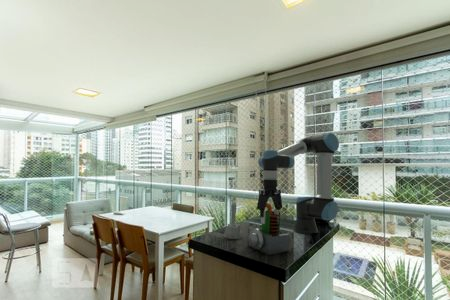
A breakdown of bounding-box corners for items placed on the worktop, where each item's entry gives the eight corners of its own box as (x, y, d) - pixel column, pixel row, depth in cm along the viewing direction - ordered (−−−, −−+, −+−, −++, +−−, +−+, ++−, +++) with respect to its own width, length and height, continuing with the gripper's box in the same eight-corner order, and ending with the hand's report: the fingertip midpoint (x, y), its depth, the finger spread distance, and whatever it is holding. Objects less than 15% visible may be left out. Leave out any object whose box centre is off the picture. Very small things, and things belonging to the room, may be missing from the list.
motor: (274, 246, 115) (275, 205, 117) (257, 243, 120) (259, 203, 122) (281, 242, 124) (282, 203, 126) (265, 239, 129) (266, 202, 131)
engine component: (223, 238, 137) (240, 239, 135) (223, 202, 138) (240, 203, 136) (226, 233, 147) (242, 234, 145) (227, 200, 149) (243, 201, 147)
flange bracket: (267, 241, 132) (268, 222, 132) (289, 250, 118) (289, 229, 119) (242, 246, 122) (242, 225, 123) (262, 256, 109) (262, 233, 110)
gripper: (279, 178, 133) (279, 219, 131) (250, 178, 122) (249, 223, 120) (289, 179, 127) (289, 222, 125) (259, 179, 116) (258, 226, 114)
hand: (269, 222), depth 123 cm, fingers closed on motor, 8 cm apart
